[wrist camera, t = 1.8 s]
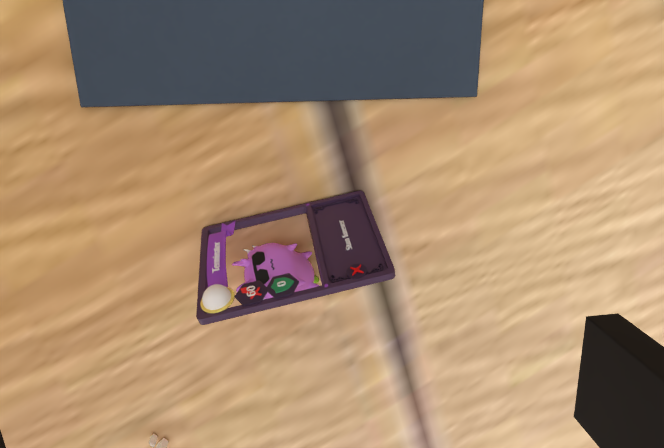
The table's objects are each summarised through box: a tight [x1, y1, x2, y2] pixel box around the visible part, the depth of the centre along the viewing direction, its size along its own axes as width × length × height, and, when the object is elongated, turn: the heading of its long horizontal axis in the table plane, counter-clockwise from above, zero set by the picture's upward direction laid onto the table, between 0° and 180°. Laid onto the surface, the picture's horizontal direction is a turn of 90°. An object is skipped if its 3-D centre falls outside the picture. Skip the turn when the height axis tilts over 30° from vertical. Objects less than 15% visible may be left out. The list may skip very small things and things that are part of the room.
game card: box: [196, 191, 395, 325], centre depth 25 cm, size 7×5×9 cm
